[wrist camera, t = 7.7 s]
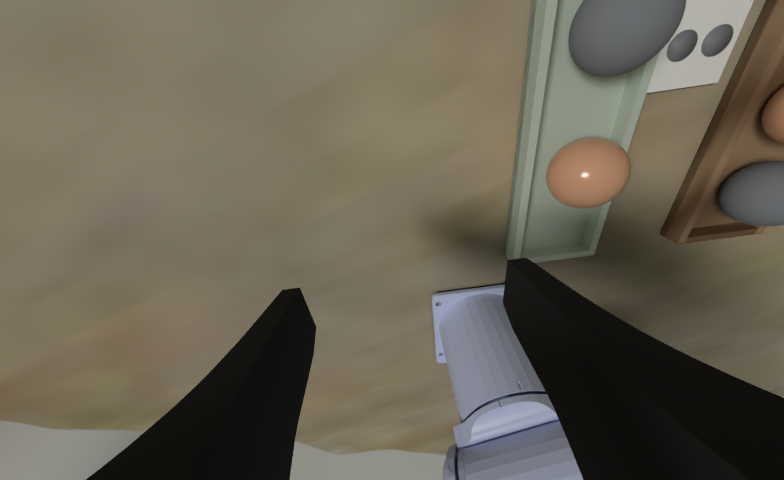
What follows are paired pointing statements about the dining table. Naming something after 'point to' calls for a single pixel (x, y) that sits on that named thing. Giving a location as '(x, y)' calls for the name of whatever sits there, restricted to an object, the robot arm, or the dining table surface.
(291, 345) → the robot arm
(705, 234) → the walnut trough
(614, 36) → the grey ball
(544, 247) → the sage trough
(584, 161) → the terracotta ball
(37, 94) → the dining table surface
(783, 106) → the terracotta ball
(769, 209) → the grey ball
